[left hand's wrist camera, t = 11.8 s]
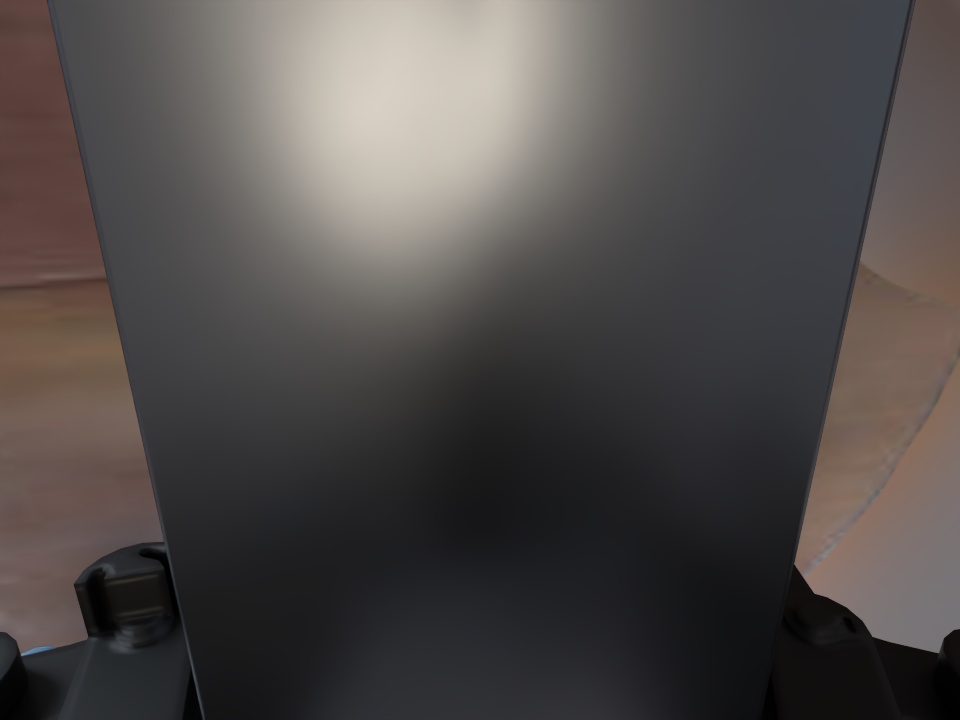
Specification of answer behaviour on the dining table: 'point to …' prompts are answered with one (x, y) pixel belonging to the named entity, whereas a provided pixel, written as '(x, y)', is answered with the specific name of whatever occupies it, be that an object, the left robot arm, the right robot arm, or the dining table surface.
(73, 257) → the dining table surface
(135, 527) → the dining table surface
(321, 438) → the bar
